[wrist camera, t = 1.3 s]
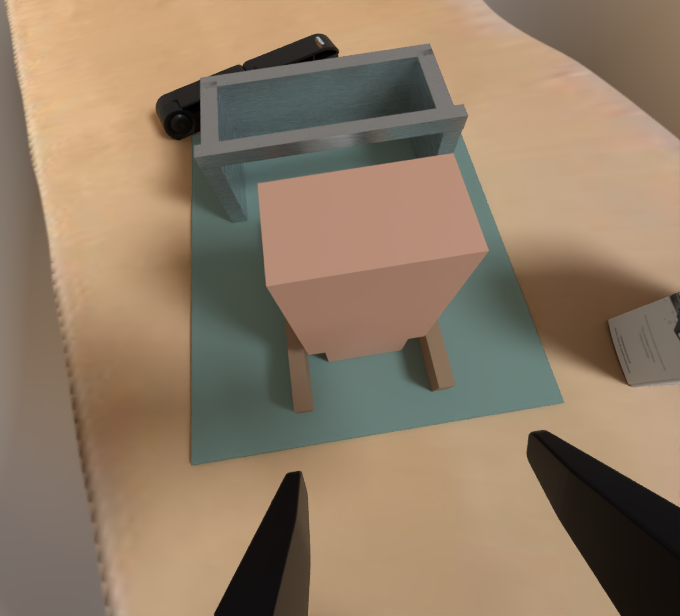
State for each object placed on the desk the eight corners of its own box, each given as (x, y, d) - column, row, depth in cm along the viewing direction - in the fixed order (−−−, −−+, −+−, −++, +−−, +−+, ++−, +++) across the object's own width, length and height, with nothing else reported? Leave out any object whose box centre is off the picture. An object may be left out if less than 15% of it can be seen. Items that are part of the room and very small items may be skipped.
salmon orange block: (415, 347, 22) (489, 250, 10) (314, 364, 22) (265, 286, 10) (402, 294, 24) (453, 153, 12) (307, 309, 24) (257, 183, 11)
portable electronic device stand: (174, 145, 31) (156, 117, 28) (166, 128, 32) (147, 99, 29) (341, 75, 33) (339, 42, 30) (329, 60, 34) (326, 27, 31)
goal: (440, 191, 27) (468, 115, 20) (233, 224, 27) (193, 157, 20) (415, 115, 30) (432, 28, 23) (229, 144, 30) (193, 63, 23)
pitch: (561, 403, 21) (585, 400, 19) (193, 464, 21) (174, 469, 19) (445, 99, 31) (452, 74, 29) (193, 137, 31) (181, 115, 28)
